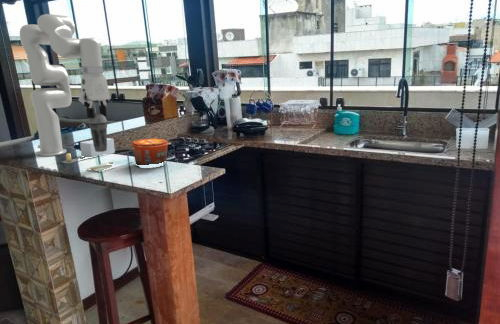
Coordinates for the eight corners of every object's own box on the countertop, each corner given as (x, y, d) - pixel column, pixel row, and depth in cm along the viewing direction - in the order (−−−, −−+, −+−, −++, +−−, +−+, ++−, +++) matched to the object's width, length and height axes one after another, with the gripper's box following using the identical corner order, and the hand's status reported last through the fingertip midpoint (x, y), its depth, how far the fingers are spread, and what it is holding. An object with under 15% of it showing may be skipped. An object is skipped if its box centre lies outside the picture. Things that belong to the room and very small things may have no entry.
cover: (81, 156, 175) (79, 142, 173) (104, 151, 187) (103, 137, 185) (91, 158, 172) (90, 143, 170) (114, 152, 184) (113, 138, 182)
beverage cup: (113, 149, 155) (109, 101, 150) (102, 152, 148) (97, 103, 143) (99, 148, 157) (94, 101, 152) (87, 151, 150) (81, 102, 145)
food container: (177, 163, 163) (176, 140, 161) (149, 172, 150) (148, 146, 148) (152, 158, 172) (151, 136, 169) (124, 166, 159) (122, 142, 156)
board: (86, 170, 153) (86, 168, 152) (119, 160, 168) (119, 158, 168) (100, 172, 149) (100, 170, 149) (132, 162, 165) (132, 160, 164)
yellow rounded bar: (61, 162, 164) (59, 154, 163) (82, 157, 174) (81, 149, 173) (68, 164, 162) (67, 155, 161) (90, 158, 172) (89, 150, 171)
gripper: (80, 71, 135) (86, 120, 140) (116, 71, 150) (120, 115, 155) (67, 71, 139) (72, 118, 143) (103, 71, 154) (107, 114, 158)
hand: (97, 116), depth 149 cm, fingers closed on beverage cup, 5 cm apart
